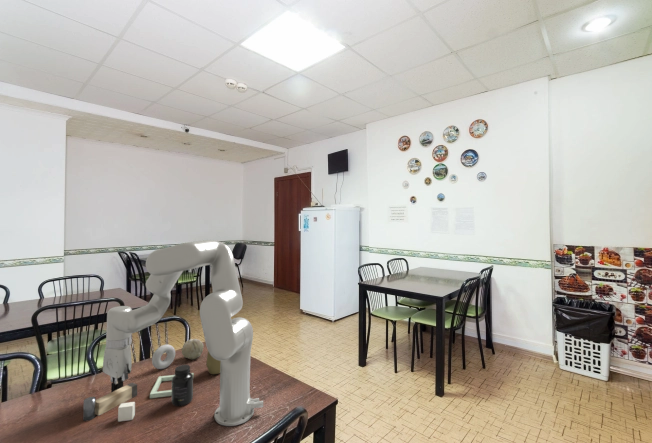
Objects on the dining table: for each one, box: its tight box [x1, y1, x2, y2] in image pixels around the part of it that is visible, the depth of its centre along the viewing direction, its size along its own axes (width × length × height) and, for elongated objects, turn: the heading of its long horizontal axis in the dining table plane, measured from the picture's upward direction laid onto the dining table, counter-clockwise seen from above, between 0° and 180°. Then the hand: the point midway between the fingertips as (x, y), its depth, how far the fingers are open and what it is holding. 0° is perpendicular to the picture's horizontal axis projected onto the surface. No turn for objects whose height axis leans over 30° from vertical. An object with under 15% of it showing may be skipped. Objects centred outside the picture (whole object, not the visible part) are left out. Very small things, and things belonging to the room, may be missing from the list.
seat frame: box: [149, 372, 195, 399], centre depth 119 cm, size 13×13×2 cm
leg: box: [95, 382, 138, 416], centre depth 107 cm, size 13×3×4 cm, turn 157°
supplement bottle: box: [171, 364, 194, 407], centre depth 110 cm, size 7×7×12 cm
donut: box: [151, 343, 176, 370], centre depth 133 cm, size 10×3×10 cm, turn 149°
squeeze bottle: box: [206, 351, 221, 375], centre depth 132 cm, size 8×8×18 cm
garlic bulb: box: [181, 338, 204, 361], centre depth 144 cm, size 9×8×10 cm
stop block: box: [117, 401, 136, 422], centre depth 100 cm, size 4×2×4 cm, turn 106°
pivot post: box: [82, 396, 96, 422], centre depth 100 cm, size 3×3×6 cm
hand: (117, 392), depth 111 cm, fingers closed
